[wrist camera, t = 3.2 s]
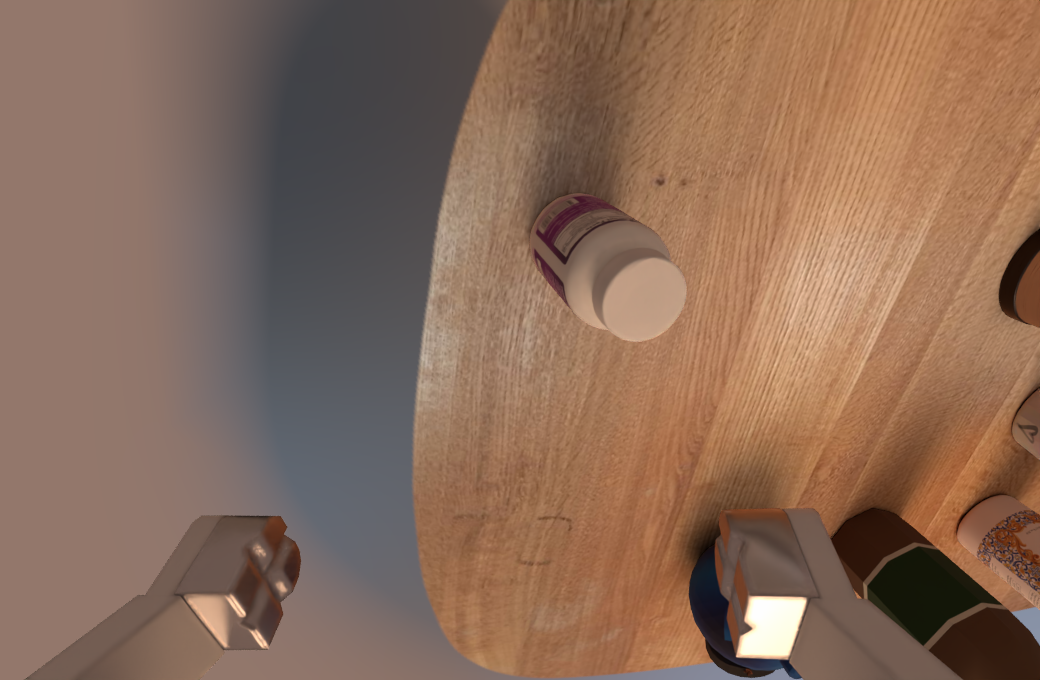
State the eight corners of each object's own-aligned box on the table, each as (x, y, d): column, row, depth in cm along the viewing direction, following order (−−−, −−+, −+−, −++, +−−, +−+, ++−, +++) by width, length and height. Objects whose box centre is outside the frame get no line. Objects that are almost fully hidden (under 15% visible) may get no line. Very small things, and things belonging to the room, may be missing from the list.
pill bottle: (610, 277, 34) (691, 351, 26) (526, 284, 33) (583, 364, 25) (619, 187, 32) (712, 237, 23) (528, 191, 31) (592, 246, 22)
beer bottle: (906, 526, 55) (1232, 811, 35) (843, 576, 57) (1122, 879, 36) (878, 492, 52) (1225, 789, 31) (812, 546, 53) (1103, 866, 32)
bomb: (658, 609, 51) (759, 798, 38) (678, 520, 46) (802, 704, 33) (751, 589, 54) (877, 761, 41) (780, 502, 49) (932, 667, 36)
